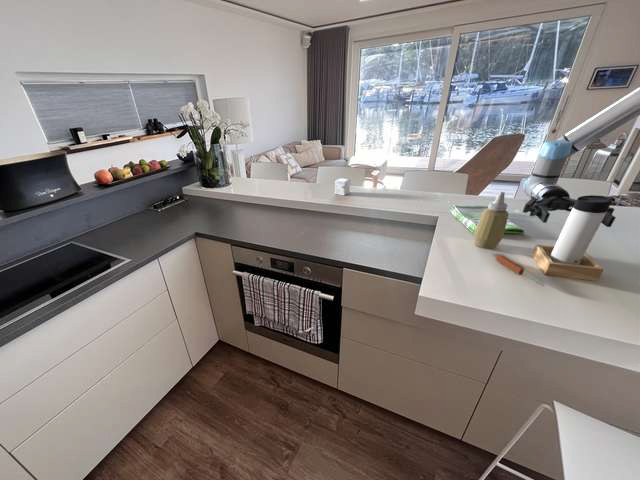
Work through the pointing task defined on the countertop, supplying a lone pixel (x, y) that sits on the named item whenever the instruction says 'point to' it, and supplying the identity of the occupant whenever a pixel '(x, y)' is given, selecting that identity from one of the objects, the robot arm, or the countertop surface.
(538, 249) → the wooden tray
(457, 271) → the countertop surface
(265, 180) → the countertop surface
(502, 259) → the kitchen knife
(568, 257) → the travel mug
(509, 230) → the dish towel
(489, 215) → the squeeze bottle
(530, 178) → the robot arm
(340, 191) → the product carton
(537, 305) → the countertop surface
